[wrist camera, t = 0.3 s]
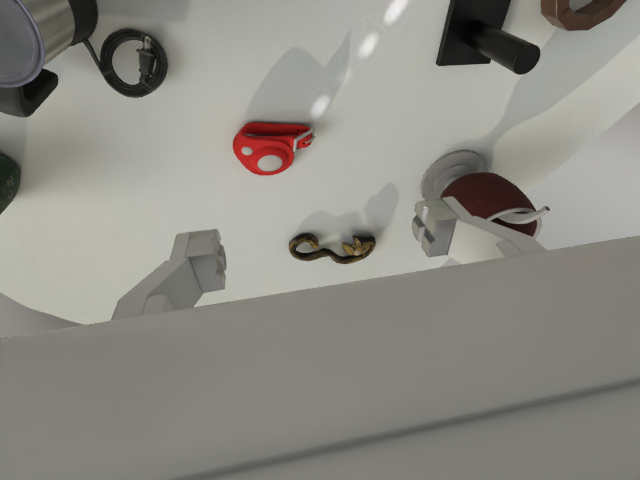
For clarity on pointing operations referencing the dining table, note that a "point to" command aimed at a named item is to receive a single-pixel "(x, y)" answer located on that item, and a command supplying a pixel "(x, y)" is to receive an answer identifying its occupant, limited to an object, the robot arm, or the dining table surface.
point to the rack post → (483, 37)
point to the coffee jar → (8, 182)
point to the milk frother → (53, 38)
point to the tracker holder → (270, 146)
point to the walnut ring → (579, 13)
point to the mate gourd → (481, 192)
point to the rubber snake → (356, 251)
